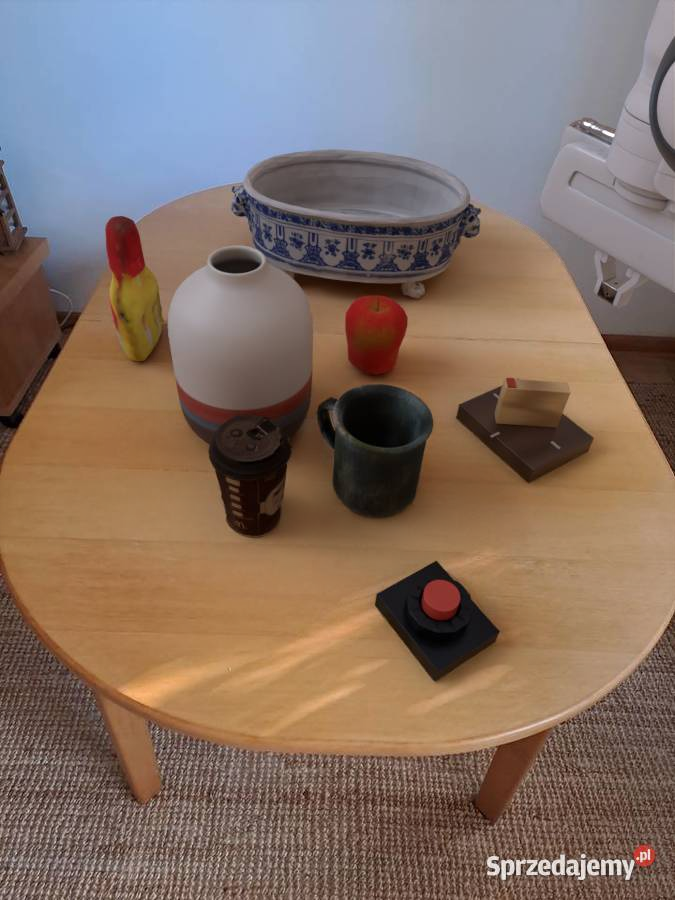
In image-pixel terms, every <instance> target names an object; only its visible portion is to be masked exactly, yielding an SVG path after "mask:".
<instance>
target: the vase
mask: <svg viewBox="0 0 675 900" xmlns="http://www.w3.org/2000/svg"><path fill="white" fill-rule="evenodd" d="M167 313H168V315H167V334H168V335H167V336H168V343H169V348H170V356H171V360H172V366H173V374H174V377H175V384H176V390H177V395H178V400H179V406H180V408H181V411H182V412H181V413H182V415H183V417H184V419H185V421H186V422H187V425H188V426H189V427H190V429H191V430H192V432H194V434H195V435H196V436H197V437H199V439H201V440H202V441H203V442H205V443H207V444H208V445H210V442H211V439H212V438H213V436H214V435H215V433H216V430H217V429H218V428H219V426H220V425H221V424H222V423H224V422H225V421H226V420H228V419H229V418H231V417H233V416H235V415H244V414H246V415H253V416H267V417H269V419H273V420H275V421H276V422H277V427H279V428H280V431H281V434H283V435H284V436H287V437H288V440H289V439H291V438H292V437H293V436H294V435H295V434H296V433H297V432H298V431H299V430H300V428H301V427H302V426H303V423H304V422H305V420H306V418H307V416H308V413H309V410H310V408H311V407H310V406H311V400H312V391H313V389H312V388H313V362H314V360H313V359H314V357H313V356H314V322H313V321H314V320H313V314H312V309H311V306H310V302H309V301H308V298H307V295H306V294H305V291H304V290H303V289H302V288H301V286H300V284H299V283H298V282H297V281H296V280H295V278H294V279H293V278H291V277H290V276H289V275H288V274H286V273H285V272H283V271H282V270H280V268H278V267H276V266H274V265H271V264H270V263H268V262H267V261H266V258H265V256H264V254H263V253H262V252H260V251H259V250H257V249H255V248H254V247H252V246H248V245H240V244H239V245H237V244H236V245H228V246H224V247H220V248H217V249H216V250H214V251H212V252H211V253H210V254H209V255H208V257H207V260H206V264H205V265H204V266H202V267H200V268H198V269H197V270H195V271H193V273H191V274H190V275H188V276H187V277H186V278H185V279H184V280H183V281H182V282H181V284H179V286H178V287H177V289H176V291H175V292H174V294H173V296H172V299H171V302H170V305H169V309H168V312H167Z"/></svg>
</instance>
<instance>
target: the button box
mask: <svg viewBox="0 0 675 900" xmlns="http://www.w3.org/2000/svg"><path fill="white" fill-rule="evenodd" d="M434 580H445V581H448V582H450V583H452V584H453V585H454V586H455V587H456V588H457V589H458V591H459V593H460V603H459V606H458V609H457V612H456V614H455V615H454V616H453V617H452V618H450V619H448V620H444V621H439V620H435V619H432V618H431V617H429V616H428V615H427V614H426V613H425V612H424V610H423V608H422V605H421V601H422V596H423V592H424V589H425V587H426V585H427V584H428V583H430V582H432V581H434ZM374 606H375V607H376V609H377V610H378V611H379V612H380V614H381V615H382V616H383V618H384V619H385V621H386V622H387V623H388V624H389V625H390V627H391V628H392V629H393V631H394V632H395V633H396V634H397V636H398V637H399V638H400V640H401V641H402V643H404V645H405V646H406V647H407V649H408V650H409V652H410V653H411V654H412V655H413V656H414V658H415V659H416V660H417V662H418V663H419V664H420V665H421V667H422V668H423V669H424V671H425V672H426V673H427V675H428V676H429V677H430V678H431V679H432V681H433V682H434V683H435V682H437V681H439V680H440V679H441V678H443V677H444V676H446V675H448V674H449V673H451V672H452V671H454V670H455V669H457V668H458V667H460V666H461V665H463V664H464V663H466V662H467V661H469V660H471V659H472V658H474V657H475V656H477V655H478V654H479V653H482V652H483V651H485V650H486V649H487V648H489V647H490V646H492V645H493V644H495V643H496V642H497V640H498V637H499V635H500V632H501V631H500V630H499V628H498V627H497V626H496V625H495V624H494V623H493V621H491V620H490V619H489V617H488V616H487V615H486V614H485V613H484V611H482V610H481V609H480V607H479V606H478V605H477V604H476V603H475V602H474V600H473V599H472V595H471V593H470V592H468V590H467V589H466V588H465V587H464V586H463V584H462V583H461V582H460V581H458V580H455V579H454V578H453V576H451V575H450V574H449V572H448V571H447V570H446V569H445V568H444V567H443V566H442V565H441V563H440V562H439V561H438V560H434V561H433V562H430V563H429V564H427V565H426V566H424V567H422V568H420V569H418V570H417V571H415V572H413V573H411V574H409V575H408V576H406V577H404V578H402V579H400V580H398V581H397V582H395V583H393V584H392V585H390V586H388V587H386V588H385V589H383V590H381V591H379V592H377V593H376V594H375V601H374Z"/></svg>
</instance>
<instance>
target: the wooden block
mask: <svg viewBox="0 0 675 900" xmlns="http://www.w3.org/2000/svg"><path fill="white" fill-rule="evenodd" d="M501 386H502V388H501V392H500V395H499V399H498V402H497V406H496V409H495V413H494V414H495V420H496V423H497V424H512V425H527V426H542V427H558V424H559V421H560V419H561V416H562V414H564V411H565V408H566V406H567V404H568V400H569V398H570V395H571V389H570V385H569V383H568V382H567V381H566V382H565V381H550V380H535V379H520V378H519V379H518V378H514V377H506V378H505V377H504V378H503V382H502V385H501Z"/></svg>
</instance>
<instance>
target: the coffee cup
mask: <svg viewBox="0 0 675 900" xmlns="http://www.w3.org/2000/svg"><path fill="white" fill-rule="evenodd" d="M292 449H293V445H292V444H291V441H290V440H289V439H288V437H287V436H284V435H283V434H281V431H280V428H279V427H277V422H276V421H275V420H273V419H269V417H267V416H253V415H246V414H244V415H235V416H233V417H231V418H229V419H228V420H226V421H225V422H224V423H222V424H221V425H220V426H219V428H218V429H217V430H216V433H215V435H214V436H213V438H212V439H211V442H210V444H209V447H208V459H209V461H210V464H211V465H212V468H213V469H214V472H215V476H216V479H217V483H218V487H219V491H220V498H221V500H222V503H223V506H224V513H225V516H226V517H225V522H226V524H227V525H228V527H229V528H230V529H231V530H232V531H234V532H236V533H237V534H239V535H240V536H244V537H249V538H259V537H262V536H265V535H267V534H269V533H271V532H272V531H273V530H275V529H276V528H277V526H278V525H279V523H280V520H281V516H282V504H283V501H284V496H285V488H286V481H287V480H286V479H287V471H288V470H287V469H288V462H289V461H290V458H291V456H292Z"/></svg>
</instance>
